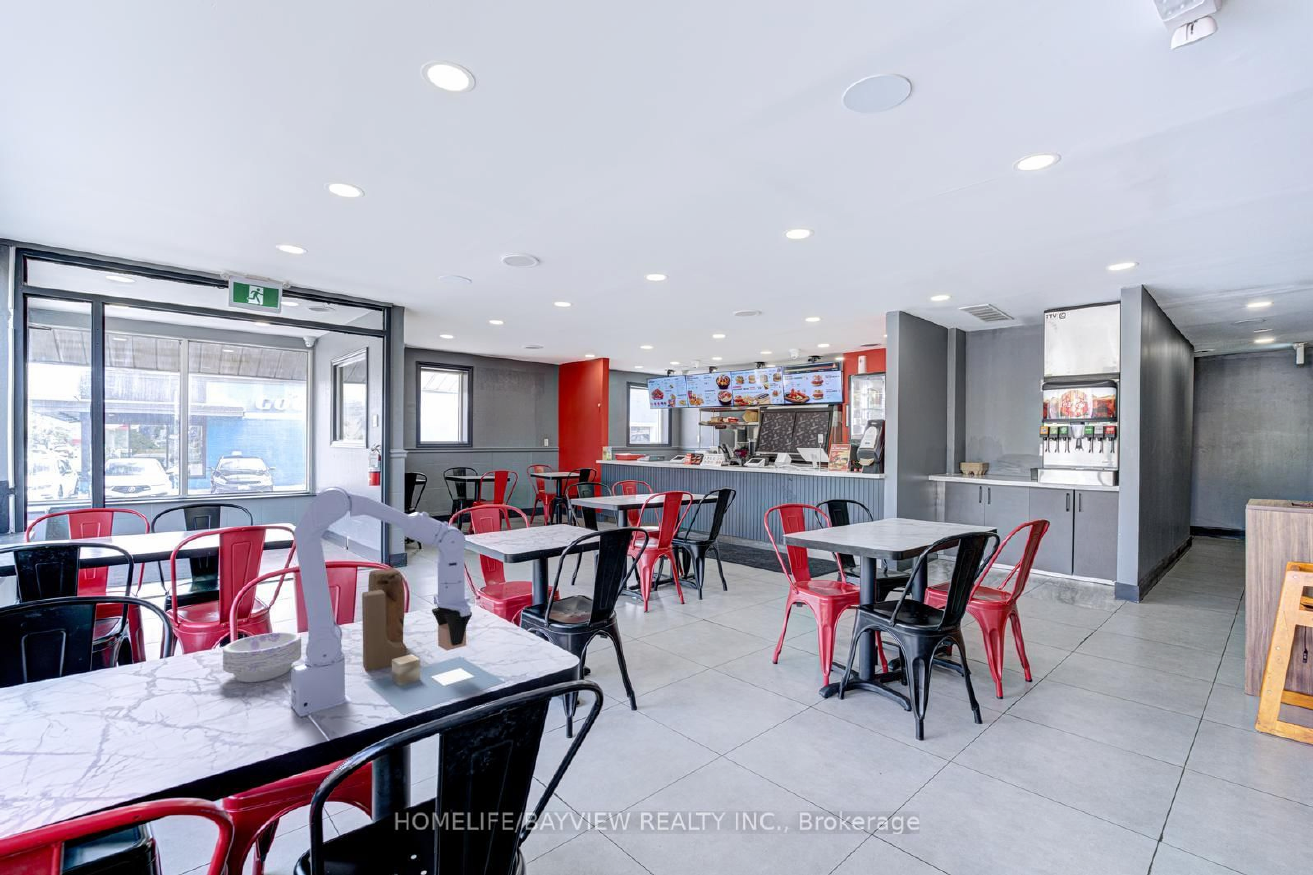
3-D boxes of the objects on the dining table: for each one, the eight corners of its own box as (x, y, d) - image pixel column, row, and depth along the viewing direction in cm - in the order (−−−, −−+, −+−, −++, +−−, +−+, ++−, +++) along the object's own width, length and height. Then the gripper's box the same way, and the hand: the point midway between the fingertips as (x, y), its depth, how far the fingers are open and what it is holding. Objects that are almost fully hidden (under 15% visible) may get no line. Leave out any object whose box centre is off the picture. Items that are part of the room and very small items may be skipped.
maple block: (399, 685, 131) (399, 664, 131) (392, 679, 135) (391, 659, 135) (420, 679, 135) (419, 659, 135) (412, 674, 138) (412, 654, 138)
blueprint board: (403, 717, 117) (403, 714, 117) (365, 684, 134) (365, 681, 134) (505, 684, 133) (505, 681, 133) (460, 658, 149) (460, 656, 149)
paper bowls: (283, 658, 151) (282, 626, 151) (314, 671, 142) (313, 637, 142) (211, 679, 138) (210, 644, 138) (240, 694, 129) (240, 657, 129)
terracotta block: (446, 650, 133) (446, 630, 133) (438, 645, 136) (437, 625, 136) (466, 645, 136) (466, 625, 136) (457, 640, 139) (457, 621, 139)
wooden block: (403, 659, 149) (402, 586, 148) (407, 665, 145) (406, 590, 145) (362, 668, 143) (361, 592, 143) (366, 674, 140) (364, 596, 140)
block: (366, 645, 159) (365, 569, 159) (396, 639, 164) (395, 565, 164) (377, 657, 150) (375, 576, 150) (408, 650, 155) (407, 572, 155)
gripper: (483, 583, 133) (484, 645, 133) (454, 573, 144) (454, 630, 144) (452, 589, 128) (453, 653, 128) (424, 578, 139) (425, 637, 139)
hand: (452, 641), depth 136 cm, fingers closed on terracotta block, 4 cm apart
